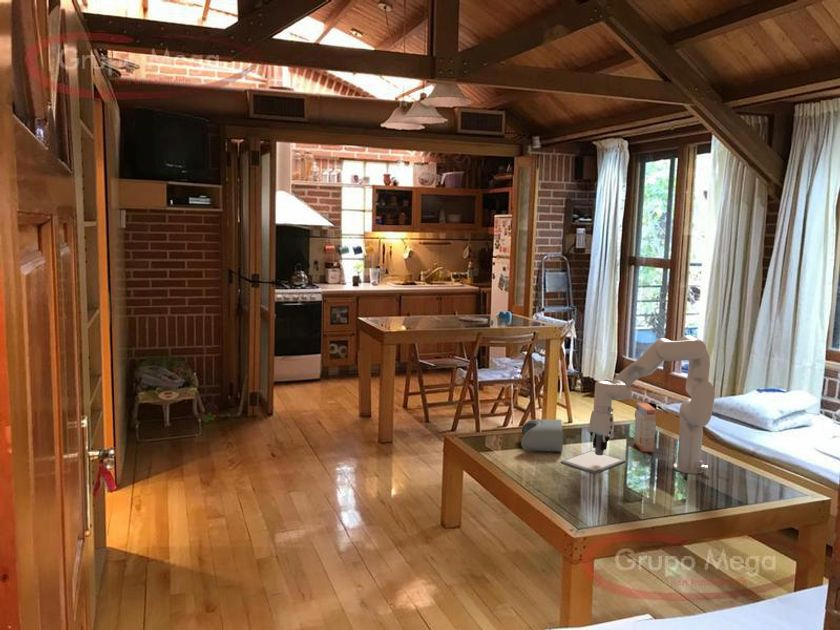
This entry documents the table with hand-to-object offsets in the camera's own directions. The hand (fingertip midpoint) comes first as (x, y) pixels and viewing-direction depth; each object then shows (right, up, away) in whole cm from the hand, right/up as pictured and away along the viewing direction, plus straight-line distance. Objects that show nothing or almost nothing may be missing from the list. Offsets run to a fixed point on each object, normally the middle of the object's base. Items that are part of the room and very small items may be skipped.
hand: (599, 448), depth 309 cm
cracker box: (+29, -5, +28) cm, 40 cm away
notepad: (-2, -7, +5) cm, 9 cm away
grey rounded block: (-22, -5, +24) cm, 33 cm away
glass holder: (+36, -2, +52) cm, 63 cm away
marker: (0, -3, 0) cm, 3 cm away
